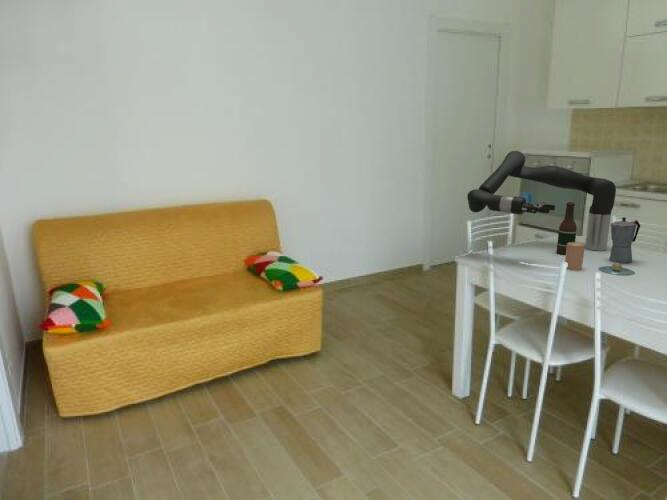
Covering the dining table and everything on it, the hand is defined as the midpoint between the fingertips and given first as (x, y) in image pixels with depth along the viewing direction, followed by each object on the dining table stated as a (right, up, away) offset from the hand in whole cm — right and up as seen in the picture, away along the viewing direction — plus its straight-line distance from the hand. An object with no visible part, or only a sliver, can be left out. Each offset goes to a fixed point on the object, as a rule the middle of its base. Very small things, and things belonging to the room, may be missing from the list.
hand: (552, 209), depth 204 cm
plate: (+24, -26, -5) cm, 36 cm away
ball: (+24, -25, -5) cm, 35 cm away
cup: (+9, -25, 0) cm, 26 cm away
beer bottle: (+17, -19, +24) cm, 35 cm away
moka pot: (+34, -22, +9) cm, 42 cm away
